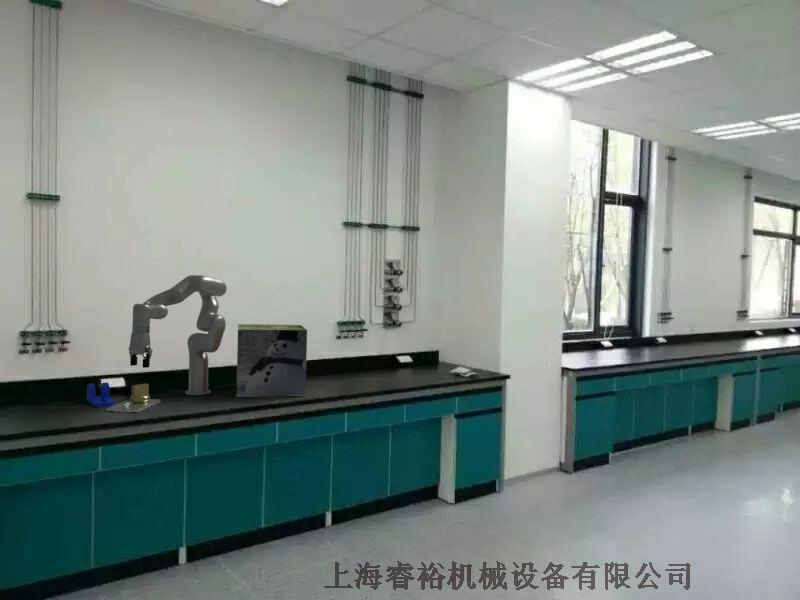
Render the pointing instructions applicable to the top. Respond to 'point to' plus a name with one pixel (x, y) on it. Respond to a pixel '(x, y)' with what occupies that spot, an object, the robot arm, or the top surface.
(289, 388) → the photo cube
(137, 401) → the footscrew knob
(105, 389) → the bracket
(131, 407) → the plate
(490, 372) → the top surface
